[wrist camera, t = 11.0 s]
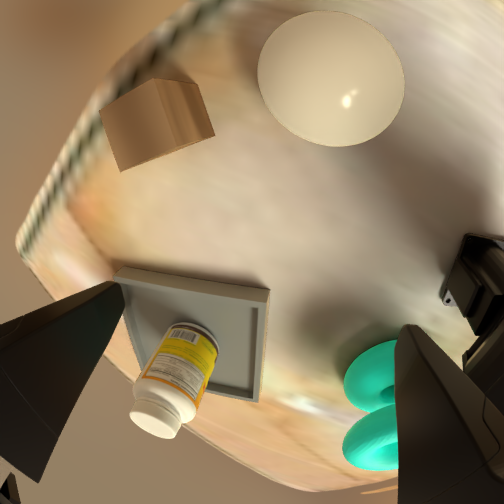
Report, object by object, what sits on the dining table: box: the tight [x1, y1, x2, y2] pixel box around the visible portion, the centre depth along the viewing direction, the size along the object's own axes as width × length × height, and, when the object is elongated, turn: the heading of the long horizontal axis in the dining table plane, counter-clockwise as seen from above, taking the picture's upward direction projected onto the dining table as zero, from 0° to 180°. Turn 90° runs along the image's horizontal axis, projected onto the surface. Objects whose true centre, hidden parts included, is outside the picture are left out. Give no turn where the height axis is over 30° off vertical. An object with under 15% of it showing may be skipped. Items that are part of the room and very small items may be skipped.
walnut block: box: [99, 78, 215, 172], centre depth 16 cm, size 4×4×6 cm
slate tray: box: [113, 266, 270, 403], centre depth 27 cm, size 14×14×2 cm
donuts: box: [342, 340, 398, 471], centre depth 21 cm, size 10×10×10 cm
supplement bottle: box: [129, 322, 219, 439], centre depth 23 cm, size 6×6×10 cm
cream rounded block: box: [257, 11, 405, 147], centre depth 14 cm, size 8×8×4 cm
